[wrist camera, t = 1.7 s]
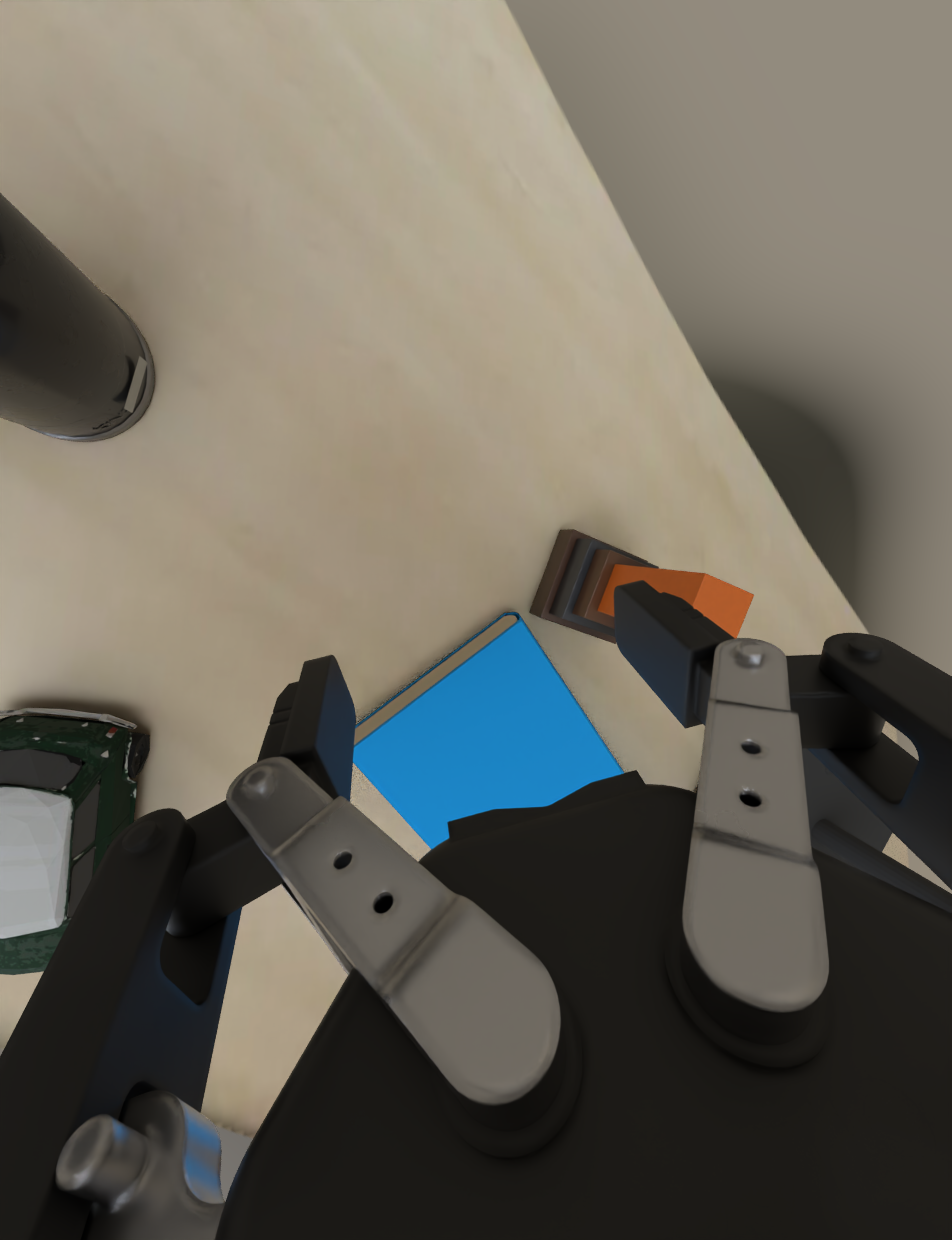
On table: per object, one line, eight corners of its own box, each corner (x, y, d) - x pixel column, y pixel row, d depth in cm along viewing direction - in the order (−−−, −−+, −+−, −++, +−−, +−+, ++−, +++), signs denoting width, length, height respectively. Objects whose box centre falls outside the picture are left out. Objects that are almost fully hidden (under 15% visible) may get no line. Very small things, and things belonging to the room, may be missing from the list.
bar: (597, 610, 34) (680, 636, 25) (615, 563, 33) (705, 573, 25) (636, 625, 35) (729, 654, 26) (654, 580, 34) (754, 594, 26)
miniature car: (-13, 932, 33) (-121, 1049, 26) (2, 694, 31) (-112, 745, 24) (131, 927, 36) (72, 1032, 28) (155, 706, 34) (97, 756, 26)
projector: (859, 749, 53) (1142, 867, 34) (792, 876, 54) (1031, 1061, 35) (745, 689, 47) (1009, 792, 28) (671, 832, 48) (880, 1026, 29)
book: (523, 951, 41) (342, 759, 33) (507, 913, 45) (342, 734, 38) (668, 826, 43) (526, 615, 35) (640, 800, 47) (508, 607, 39)
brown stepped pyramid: (529, 612, 40) (564, 627, 33) (560, 529, 39) (602, 528, 33) (601, 638, 42) (647, 657, 35) (631, 559, 42) (684, 564, 35)
